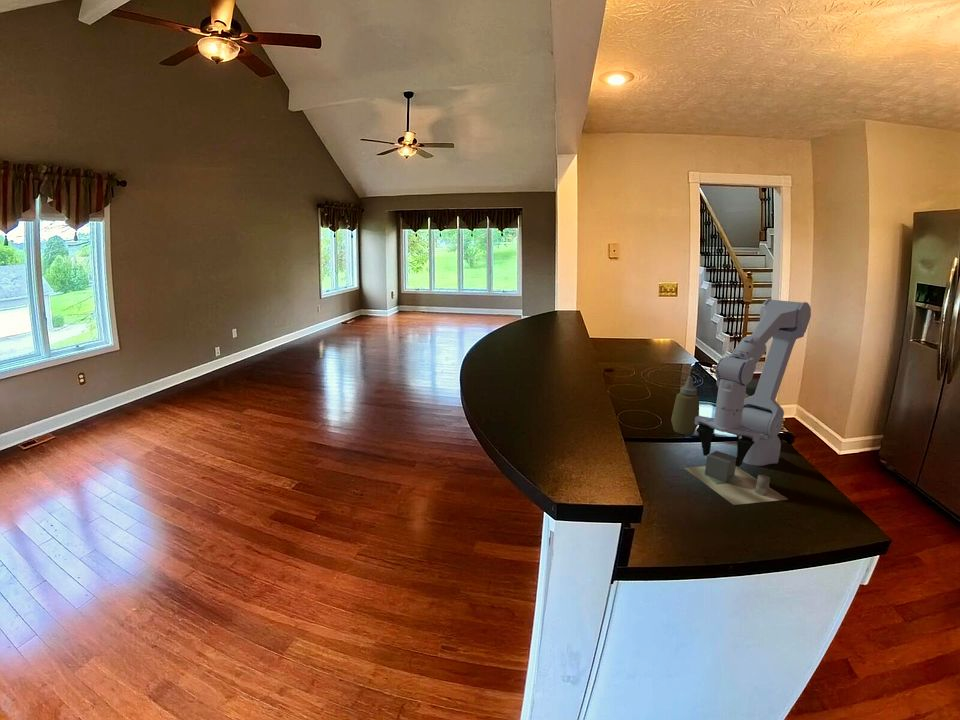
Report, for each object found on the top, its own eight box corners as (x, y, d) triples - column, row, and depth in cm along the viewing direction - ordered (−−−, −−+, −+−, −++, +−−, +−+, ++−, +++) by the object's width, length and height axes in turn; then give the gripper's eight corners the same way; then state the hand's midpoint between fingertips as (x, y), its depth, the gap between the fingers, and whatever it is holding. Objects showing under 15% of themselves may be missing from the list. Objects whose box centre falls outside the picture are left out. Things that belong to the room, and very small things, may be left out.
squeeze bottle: (665, 427, 152) (671, 373, 147) (689, 426, 152) (695, 373, 148) (677, 437, 144) (684, 380, 140) (702, 436, 144) (710, 380, 140)
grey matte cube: (713, 468, 119) (716, 450, 118) (734, 476, 116) (737, 457, 115) (704, 474, 116) (707, 456, 115) (725, 482, 113) (728, 463, 111)
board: (731, 469, 123) (734, 449, 122) (787, 505, 106) (791, 483, 105) (683, 473, 121) (686, 453, 119) (732, 510, 103) (736, 488, 102)
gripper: (691, 402, 115) (685, 454, 118) (756, 419, 104) (747, 475, 107) (704, 397, 119) (698, 446, 122) (767, 412, 108) (759, 466, 112)
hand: (722, 459), depth 115 cm, fingers open, 7 cm apart
